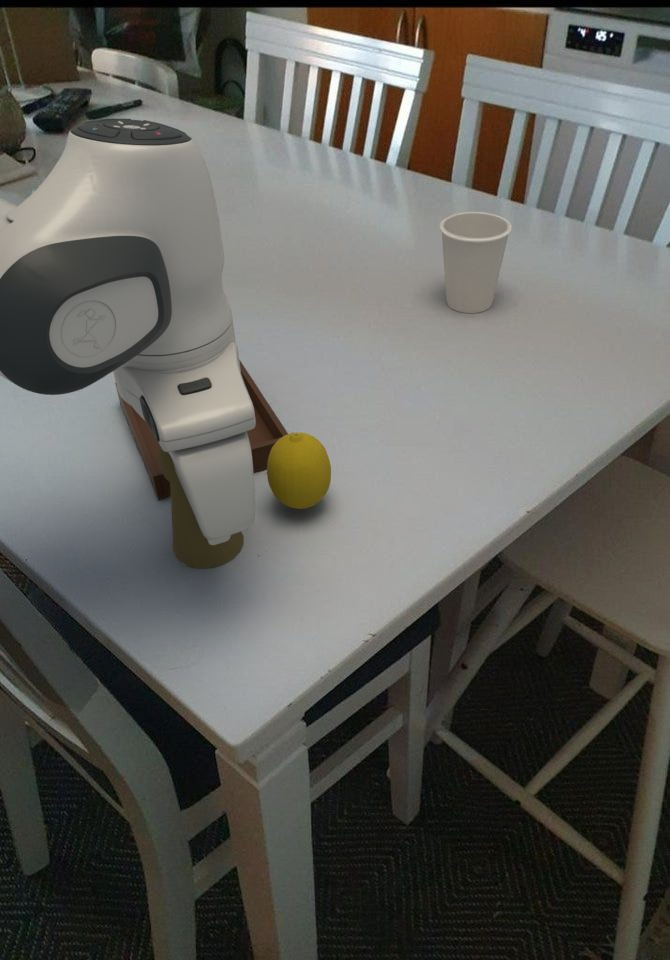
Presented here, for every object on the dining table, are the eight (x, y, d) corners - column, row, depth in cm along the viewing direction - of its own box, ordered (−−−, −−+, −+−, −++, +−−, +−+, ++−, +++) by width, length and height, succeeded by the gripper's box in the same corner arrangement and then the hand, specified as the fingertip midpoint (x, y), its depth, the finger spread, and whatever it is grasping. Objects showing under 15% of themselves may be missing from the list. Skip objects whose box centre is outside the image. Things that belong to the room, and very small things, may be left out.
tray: (158, 500, 74) (152, 476, 72) (120, 404, 86) (114, 382, 84) (293, 461, 78) (291, 438, 76) (238, 375, 90) (235, 353, 88)
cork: (159, 558, 68) (134, 454, 61) (195, 512, 72) (175, 411, 65) (222, 576, 66) (204, 471, 59) (255, 528, 70) (242, 426, 63)
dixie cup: (454, 281, 106) (459, 206, 99) (513, 296, 102) (523, 219, 96) (423, 308, 100) (427, 230, 94) (485, 324, 97) (493, 244, 90)
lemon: (264, 524, 71) (255, 452, 66) (278, 484, 75) (271, 413, 70) (327, 530, 70) (322, 457, 65) (337, 489, 74) (334, 417, 69)
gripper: (104, 307, 64) (137, 446, 73) (166, 448, 49) (198, 600, 58) (181, 290, 66) (205, 427, 75) (263, 422, 51) (280, 573, 60)
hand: (202, 505), depth 66 cm, fingers open, 7 cm apart
